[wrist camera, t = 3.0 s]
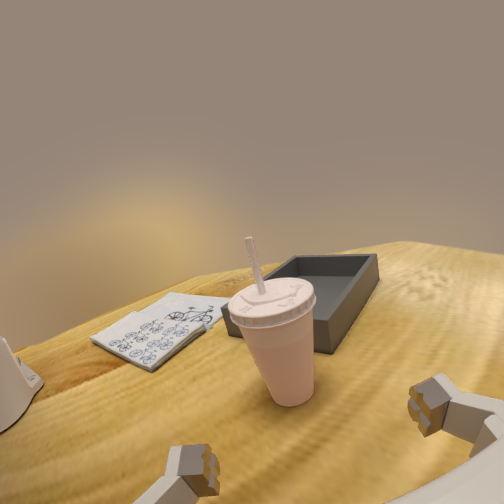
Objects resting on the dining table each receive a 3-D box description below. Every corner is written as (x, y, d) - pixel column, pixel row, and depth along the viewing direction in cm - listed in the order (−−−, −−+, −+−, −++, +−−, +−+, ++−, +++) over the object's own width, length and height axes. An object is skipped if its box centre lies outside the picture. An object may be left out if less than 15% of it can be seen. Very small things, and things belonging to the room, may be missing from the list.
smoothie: (270, 368, 28) (234, 231, 24) (335, 369, 25) (311, 218, 21) (245, 414, 22) (192, 257, 19) (321, 420, 19) (288, 244, 16)
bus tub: (229, 335, 36) (220, 307, 35) (298, 278, 49) (294, 255, 48) (332, 354, 27) (327, 320, 26) (379, 279, 40) (376, 253, 39)
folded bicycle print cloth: (91, 345, 42) (86, 334, 41) (175, 296, 57) (171, 286, 57) (153, 379, 30) (145, 364, 30) (251, 302, 46) (247, 290, 45)
